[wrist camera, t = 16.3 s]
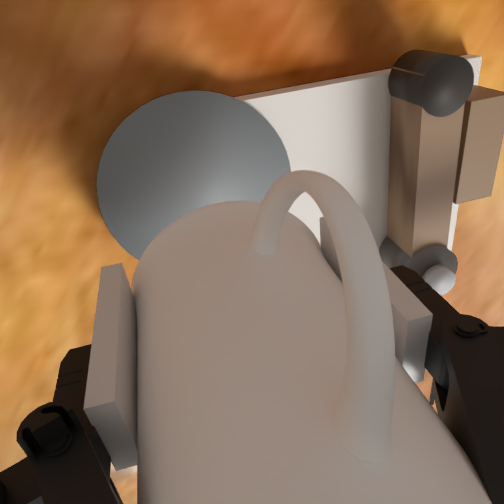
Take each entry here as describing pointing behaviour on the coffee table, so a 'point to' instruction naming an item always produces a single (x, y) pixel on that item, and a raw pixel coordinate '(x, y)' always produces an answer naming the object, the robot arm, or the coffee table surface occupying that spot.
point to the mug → (280, 365)
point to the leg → (424, 157)
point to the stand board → (278, 154)
